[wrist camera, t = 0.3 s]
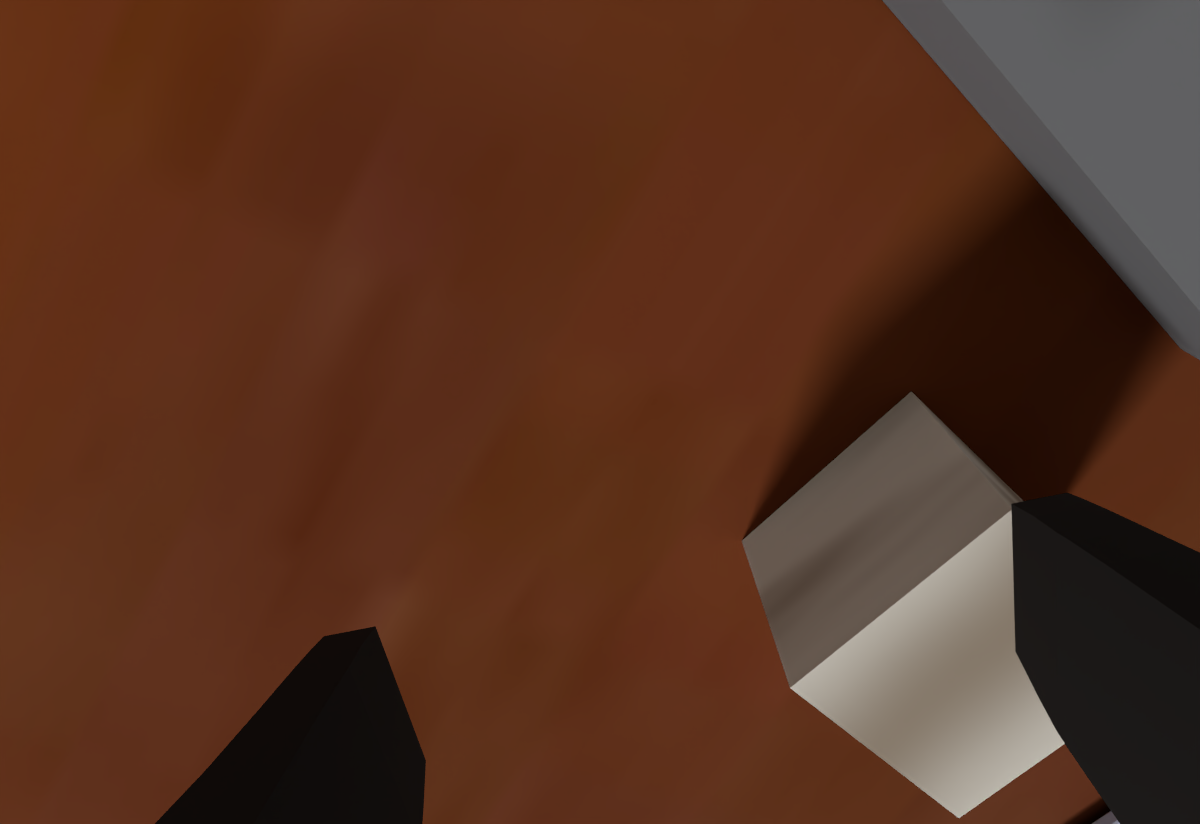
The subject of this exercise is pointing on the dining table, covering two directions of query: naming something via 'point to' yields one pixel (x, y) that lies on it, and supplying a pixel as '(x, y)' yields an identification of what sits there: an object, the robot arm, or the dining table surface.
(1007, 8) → the gray base
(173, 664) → the dining table surface
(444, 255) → the dining table surface
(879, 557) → the cream cube
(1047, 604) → the robot arm
